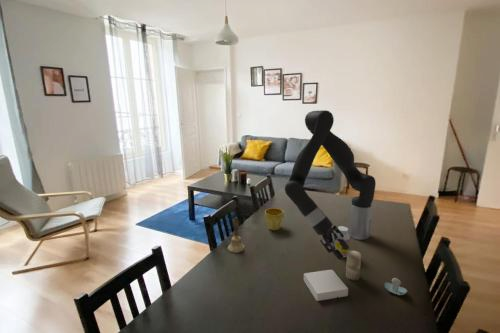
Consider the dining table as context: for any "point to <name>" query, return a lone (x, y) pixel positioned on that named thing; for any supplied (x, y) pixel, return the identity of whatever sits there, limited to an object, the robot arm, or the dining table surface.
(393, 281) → the pacifier
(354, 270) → the birch post
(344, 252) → the supplement bottle
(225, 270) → the dining table surface
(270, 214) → the plant pot
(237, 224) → the hand bell
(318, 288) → the plinth
